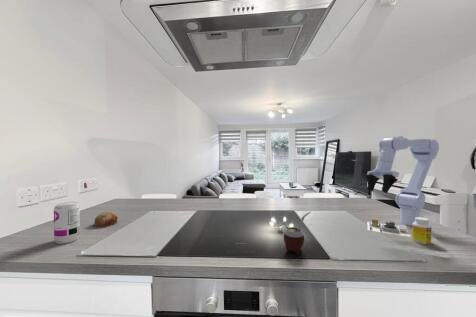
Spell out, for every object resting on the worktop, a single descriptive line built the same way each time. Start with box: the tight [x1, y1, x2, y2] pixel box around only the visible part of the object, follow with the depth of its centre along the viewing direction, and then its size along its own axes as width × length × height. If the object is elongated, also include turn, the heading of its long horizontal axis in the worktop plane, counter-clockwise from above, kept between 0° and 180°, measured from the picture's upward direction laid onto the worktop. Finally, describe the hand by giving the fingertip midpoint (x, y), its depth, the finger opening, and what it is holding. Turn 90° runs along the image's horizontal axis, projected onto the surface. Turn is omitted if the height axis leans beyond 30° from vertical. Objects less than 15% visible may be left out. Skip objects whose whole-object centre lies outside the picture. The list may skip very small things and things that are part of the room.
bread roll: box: [93, 211, 118, 228], centre depth 106 cm, size 10×10×8 cm
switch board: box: [366, 221, 412, 238], centre depth 95 cm, size 14×15×3 cm
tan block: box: [371, 217, 379, 227], centre depth 99 cm, size 3×2×3 cm
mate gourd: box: [283, 211, 311, 257], centre depth 75 cm, size 8×8×15 cm
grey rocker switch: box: [398, 223, 408, 232], centre depth 91 cm, size 4×2×1 cm, turn 149°
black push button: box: [385, 220, 396, 228], centre depth 92 cm, size 3×3×2 cm
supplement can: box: [53, 201, 81, 245], centre depth 86 cm, size 8×8×15 cm
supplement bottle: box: [411, 216, 432, 245], centre depth 81 cm, size 6×6×10 cm
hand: (376, 191), depth 93 cm, fingers open, 7 cm apart
